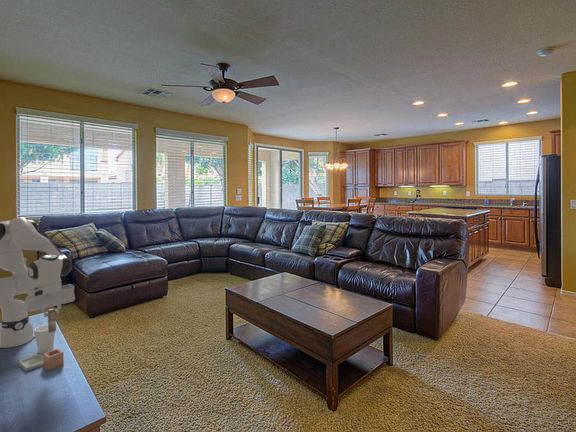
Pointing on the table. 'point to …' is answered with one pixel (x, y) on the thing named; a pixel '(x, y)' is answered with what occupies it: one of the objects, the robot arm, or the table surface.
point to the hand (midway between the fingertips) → (51, 315)
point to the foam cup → (44, 338)
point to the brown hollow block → (53, 359)
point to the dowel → (51, 320)
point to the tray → (31, 362)
